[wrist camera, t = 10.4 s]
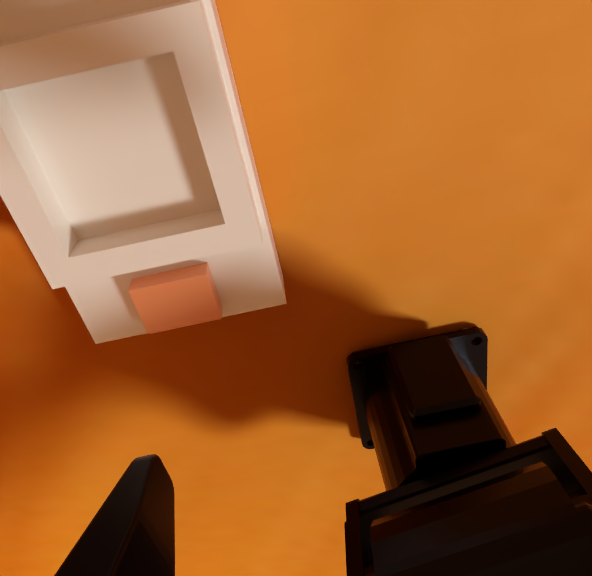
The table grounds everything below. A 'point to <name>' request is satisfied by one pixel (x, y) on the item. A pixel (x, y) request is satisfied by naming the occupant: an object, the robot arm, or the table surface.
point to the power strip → (133, 163)
